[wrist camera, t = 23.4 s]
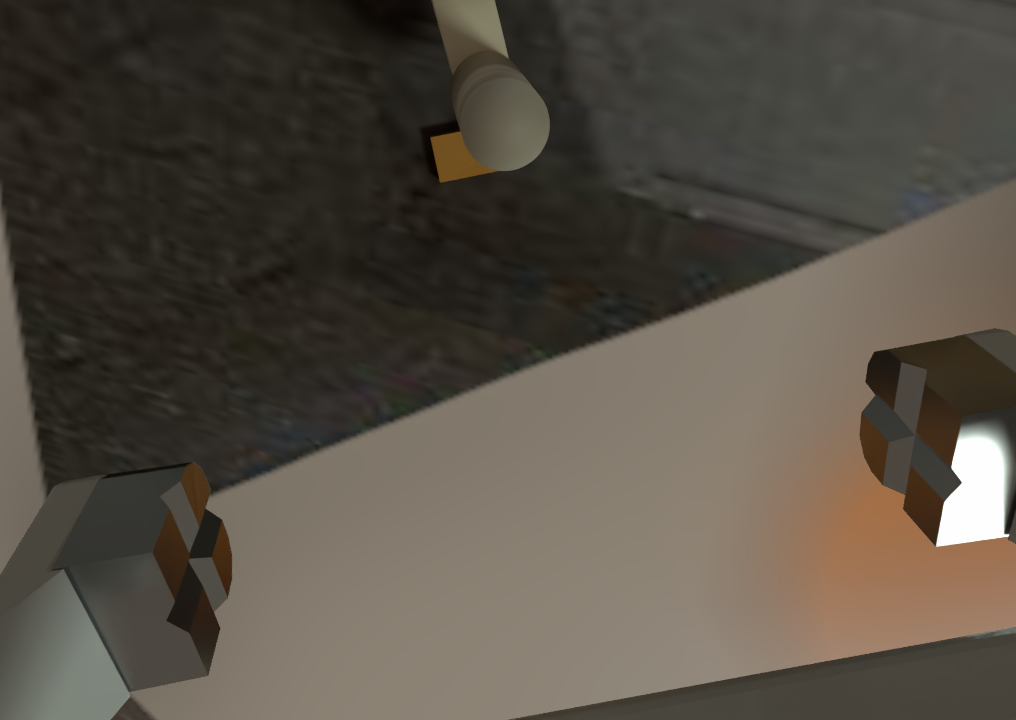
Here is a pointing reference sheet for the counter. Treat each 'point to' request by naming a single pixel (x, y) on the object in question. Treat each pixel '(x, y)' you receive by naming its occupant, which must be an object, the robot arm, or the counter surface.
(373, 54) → the counter surface
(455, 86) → the crank
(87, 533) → the robot arm
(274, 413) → the counter surface
